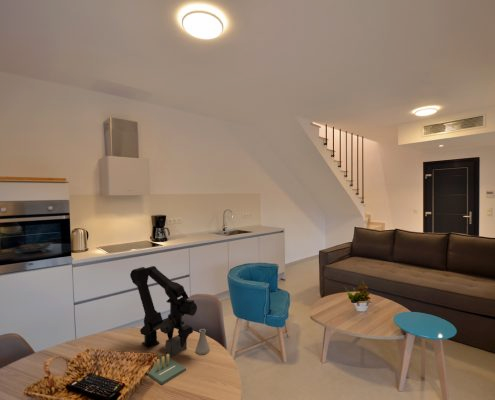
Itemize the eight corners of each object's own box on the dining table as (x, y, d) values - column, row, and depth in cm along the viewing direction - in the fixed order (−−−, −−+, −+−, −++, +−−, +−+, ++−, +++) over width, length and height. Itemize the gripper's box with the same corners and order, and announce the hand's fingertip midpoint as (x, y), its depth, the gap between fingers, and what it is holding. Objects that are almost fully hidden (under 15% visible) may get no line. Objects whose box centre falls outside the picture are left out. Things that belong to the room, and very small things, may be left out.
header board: (140, 369, 119) (140, 356, 119) (164, 357, 128) (164, 345, 128) (161, 384, 109) (161, 370, 109) (186, 370, 118) (186, 357, 118)
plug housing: (165, 353, 131) (165, 340, 131) (180, 345, 138) (180, 333, 138) (171, 356, 129) (171, 343, 129) (186, 348, 136) (186, 336, 136)
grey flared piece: (207, 355, 129) (207, 334, 129) (192, 354, 131) (192, 333, 131) (212, 347, 136) (212, 327, 136) (198, 346, 138) (198, 326, 138)
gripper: (150, 312, 133) (150, 344, 133) (174, 322, 122) (174, 358, 121) (169, 305, 142) (169, 335, 142) (193, 314, 130) (193, 347, 130)
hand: (176, 344), depth 134 cm, fingers open, 9 cm apart
